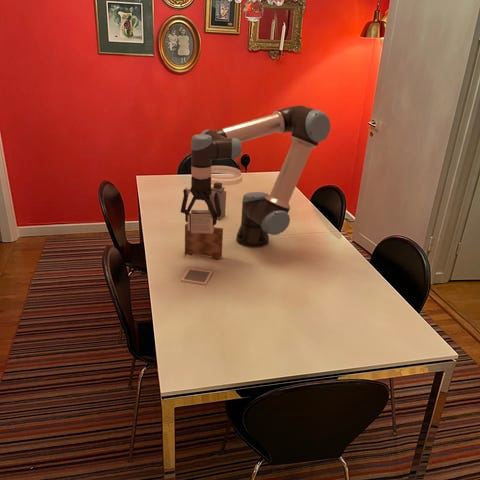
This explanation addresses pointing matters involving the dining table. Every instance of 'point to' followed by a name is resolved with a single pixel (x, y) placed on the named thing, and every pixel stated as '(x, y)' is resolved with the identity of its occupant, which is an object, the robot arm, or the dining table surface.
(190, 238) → the wooden board with stops
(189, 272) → the picture frame
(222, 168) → the pale pink ring
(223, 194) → the perfume bottle
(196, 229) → the box
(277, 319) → the dining table surface
